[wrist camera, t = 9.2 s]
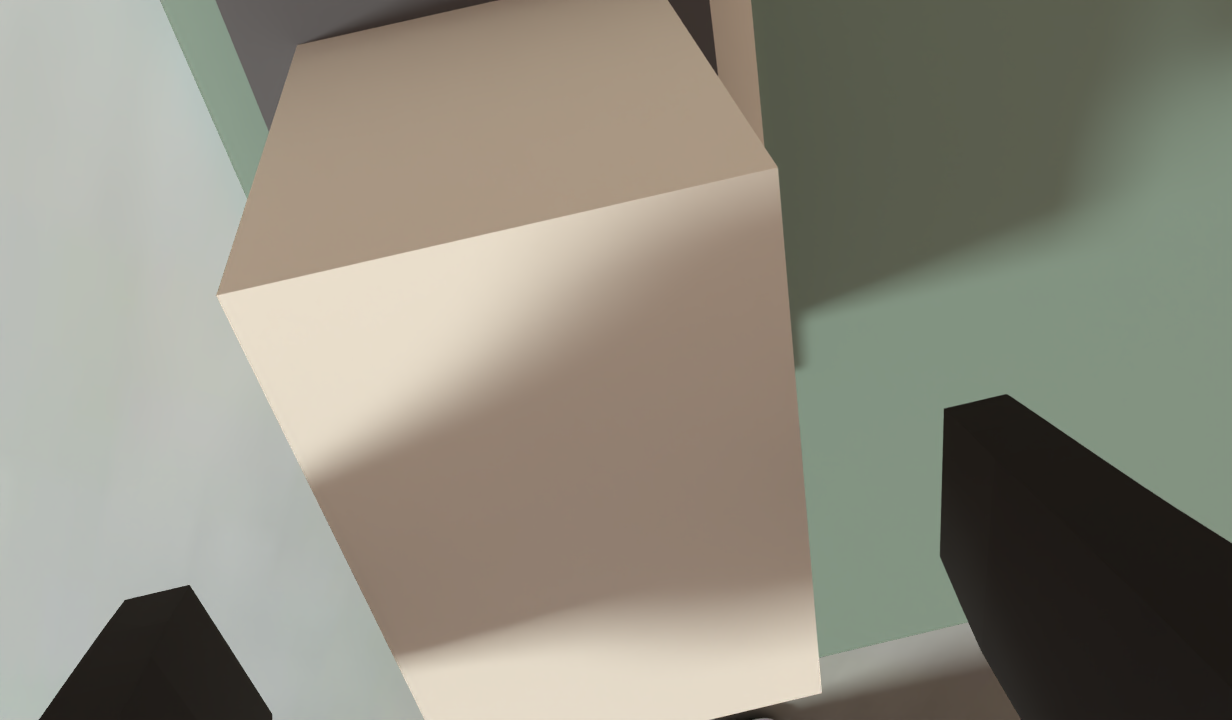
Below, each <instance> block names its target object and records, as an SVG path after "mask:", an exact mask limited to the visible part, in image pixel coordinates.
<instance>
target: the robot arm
mask: <svg viewBox="0 0 1232 720" xmlns="http://www.w3.org/2000/svg"><path fill="white" fill-rule="evenodd" d="M940 558H941V561H942V563H943V565H944V568H945V570H946V572H947V575H948V577H949V579H950V582H951V584H952V586H953V589H954V591H955V593H956V596H957V598H958V600H959V603H960V605H961V607H962V609H963V612H964V614H965V616H966V618H967V620H968V623H969V625H970V627H971V629H972V631H973V634H974V636H975V638H976V640H977V642H978V645H979V647H980V649H981V651H982V653H983V655H984V656H985V658H986V660H987V662H988V663H989V665H990V667H991V669H992V670H993V672H994V674H995V676H996V677H997V679H998V681H999V682H1000V684H1001V686H1002V687H1003V689H1004V691H1005V693H1006V694H1007V696H1008V698H1009V699H1010V701H1011V703H1012V705H1013V706H1014V708H1015V710H1016V711H1017V713H1018V715H1019V716H1020V718H1021V720H1232V543H1231V542H1229V541H1228V540H1226V539H1225V538H1223V537H1221V536H1220V535H1218V534H1217V533H1215V532H1214V531H1212V530H1210V529H1209V528H1207V527H1206V526H1204V525H1203V524H1201V523H1199V522H1198V521H1196V520H1195V519H1193V518H1191V517H1190V516H1188V515H1187V514H1185V513H1184V512H1182V511H1180V510H1179V509H1177V508H1176V507H1174V506H1173V505H1171V504H1169V503H1168V502H1166V501H1165V500H1163V499H1162V498H1160V497H1159V496H1157V495H1156V494H1154V493H1153V492H1151V491H1150V490H1148V489H1147V488H1145V487H1144V486H1142V485H1141V484H1139V483H1138V482H1136V481H1135V480H1133V479H1132V478H1130V477H1129V476H1127V475H1126V474H1124V473H1123V472H1121V471H1120V470H1118V469H1117V468H1115V467H1114V466H1112V465H1111V464H1109V463H1108V462H1106V461H1105V460H1103V459H1102V458H1101V457H1099V456H1098V455H1096V454H1095V453H1093V452H1092V451H1090V450H1089V449H1087V448H1086V447H1084V446H1083V445H1081V444H1080V443H1079V442H1077V441H1076V440H1074V439H1073V438H1071V437H1070V436H1068V435H1067V434H1065V433H1064V432H1062V431H1061V430H1060V429H1058V428H1057V427H1055V426H1054V425H1052V424H1051V423H1049V422H1048V421H1046V420H1045V419H1043V418H1042V417H1040V416H1039V415H1037V414H1036V413H1035V412H1033V411H1032V410H1030V409H1029V408H1027V407H1026V406H1024V405H1023V404H1021V403H1020V402H1018V401H1017V400H1015V399H1014V398H1012V397H1011V396H1009V395H1008V394H1004V395H1000V396H995V397H991V398H987V399H983V400H978V401H974V402H970V403H966V404H961V405H957V406H953V407H948V408H944V420H943V456H942V491H941V527H940ZM39 720H272V713H271V711H270V710H269V708H268V707H267V705H266V704H265V702H264V701H263V699H262V697H261V696H260V694H259V693H258V691H257V690H256V688H255V687H254V685H253V683H252V682H251V680H250V679H249V677H248V676H247V674H246V672H245V671H244V669H243V668H242V666H241V665H240V663H239V662H238V660H237V658H236V657H235V655H234V654H233V652H232V651H231V649H230V647H229V646H228V644H227V643H226V641H225V640H224V638H223V637H222V635H221V633H220V632H219V630H218V629H217V627H216V626H215V624H214V622H213V621H212V619H211V618H210V616H209V615H208V613H207V612H206V610H205V608H204V607H203V605H202V604H201V602H200V601H199V599H198V597H197V596H196V594H195V593H194V591H193V590H192V588H191V587H190V585H187V586H183V587H179V588H174V589H170V590H166V591H162V592H157V593H153V594H149V595H144V596H140V597H136V598H132V599H127V600H125V601H124V602H123V603H122V605H121V606H120V607H119V609H118V610H117V611H116V613H115V614H114V615H113V617H112V618H111V619H110V621H109V622H108V623H107V625H106V626H105V627H104V629H103V630H102V632H101V633H100V634H99V636H98V637H97V638H96V640H95V641H94V643H93V644H92V645H91V647H90V648H89V650H88V651H87V652H86V654H85V655H84V657H83V658H82V659H81V661H80V662H79V664H78V665H77V667H76V668H75V669H74V671H73V672H72V674H71V675H70V676H69V678H68V679H67V681H66V682H65V684H64V685H63V686H62V688H61V689H60V691H59V692H58V693H57V695H56V696H55V698H54V699H53V701H52V702H51V703H50V705H49V706H48V708H47V709H46V710H45V712H44V713H43V715H42V716H41V718H40V719H39ZM754 720H773V719H770V718H759V719H754Z"/></svg>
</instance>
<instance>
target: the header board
mask: <svg viewBox="0 0 1232 720" xmlns="http://www.w3.org/2000/svg"><path fill="white" fill-rule="evenodd" d="M160 1H161V4H162V6H163V8H164V10H165V13H166V15H167V17H168V19H169V22H170V24H171V26H172V29H173V31H174V33H175V35H176V38H177V40H178V42H179V45H180V47H181V49H182V51H183V54H184V56H185V58H186V60H187V63H188V65H189V67H190V70H191V72H192V74H193V76H194V79H195V81H196V83H197V86H198V88H199V90H200V92H201V95H202V97H203V99H204V101H205V104H206V106H207V108H208V111H209V113H210V115H211V117H212V120H213V122H214V124H215V127H216V129H217V131H218V133H219V136H220V138H221V140H222V142H223V145H224V147H225V149H226V152H227V154H228V156H229V158H230V161H231V163H232V165H233V168H234V170H235V172H236V174H237V177H238V179H239V181H240V184H241V186H242V188H243V190H244V193H245V195H246V197H247V199H248V196H249V193H250V190H251V187H252V184H253V180H254V177H255V174H256V171H257V168H258V165H259V162H260V159H261V156H262V153H263V149H264V146H265V143H266V140H267V137H268V134H269V131H270V128H271V125H272V121H273V118H274V115H275V112H276V109H277V106H278V103H279V100H280V97H281V94H282V90H283V87H284V84H285V81H286V78H287V75H288V72H289V69H290V66H291V63H292V59H293V56H294V53H295V50H296V47H297V45H300V44H305V43H309V42H314V41H318V40H323V39H327V38H332V37H336V36H341V35H345V34H349V33H354V32H358V31H363V30H367V29H372V28H376V27H381V26H385V25H390V24H394V23H399V22H403V21H408V20H412V19H416V18H421V17H425V16H430V15H434V14H439V13H443V12H448V11H452V10H457V9H461V8H466V7H470V6H474V5H479V4H483V3H488V2H492V1H497V0H160ZM668 1H669V3H670V4H671V6H672V7H673V9H674V10H675V12H676V13H677V15H678V16H679V18H680V19H681V21H682V23H683V24H684V26H685V27H686V29H687V30H688V32H689V33H690V35H691V36H692V38H693V39H694V41H695V42H696V44H697V45H698V47H699V48H700V50H701V51H702V53H703V54H704V56H705V57H706V59H707V61H708V62H709V64H710V65H711V67H712V68H713V70H714V71H715V73H716V74H717V76H718V77H719V79H720V80H721V82H722V83H723V85H724V86H725V88H726V89H727V91H728V92H729V94H730V95H731V97H732V99H733V100H734V102H735V103H736V105H737V106H738V108H739V109H740V111H741V112H742V114H743V115H744V117H745V118H746V120H747V121H748V123H749V124H750V126H751V127H752V129H753V130H754V132H755V133H756V135H757V136H758V138H759V140H760V141H761V143H762V144H763V146H764V147H765V149H766V150H767V152H768V153H769V155H770V156H771V158H772V159H773V161H774V162H775V164H776V165H777V167H778V175H779V187H780V199H781V211H782V223H783V235H784V247H785V259H786V271H787V283H788V295H789V307H790V319H791V331H792V343H793V355H794V367H795V379H796V390H797V402H798V414H799V426H800V438H801V450H802V462H803V474H804V486H805V498H806V510H807V522H808V534H809V546H810V558H811V570H812V582H813V594H814V606H815V618H816V629H817V641H818V653H819V658H820V657H824V656H829V655H833V654H837V653H841V652H845V651H850V650H854V649H858V648H862V647H866V646H871V645H875V644H879V643H883V642H887V641H892V640H896V639H900V638H904V637H908V636H913V635H917V634H921V633H925V632H929V631H934V630H938V629H942V628H946V627H950V626H955V625H959V624H963V623H967V622H968V620H967V618H966V616H965V614H964V612H963V609H962V607H961V605H960V603H959V600H958V598H957V596H956V593H955V591H954V589H953V586H952V584H951V582H950V579H949V577H948V575H947V572H946V570H945V568H944V565H943V563H942V561H941V558H940V527H941V491H942V456H943V420H944V408H948V407H953V406H957V405H961V404H966V403H970V402H974V401H978V400H983V399H987V398H991V397H995V396H1000V395H1004V394H1008V395H1009V396H1011V397H1012V398H1014V399H1015V400H1017V401H1018V402H1020V403H1021V404H1023V405H1024V406H1026V407H1027V408H1029V409H1030V410H1032V411H1033V412H1035V413H1036V414H1037V415H1039V416H1040V417H1042V418H1043V419H1045V420H1046V421H1048V422H1049V423H1051V424H1052V425H1054V426H1055V427H1057V428H1058V429H1060V430H1061V431H1062V432H1064V433H1065V434H1067V435H1068V436H1070V437H1071V438H1073V439H1074V440H1076V441H1077V442H1079V443H1080V444H1081V445H1083V446H1084V447H1086V448H1087V449H1089V450H1090V451H1092V452H1093V453H1095V454H1096V455H1098V456H1099V457H1101V458H1102V459H1103V460H1105V461H1106V462H1108V463H1109V464H1111V465H1112V466H1114V467H1115V468H1117V469H1118V470H1120V471H1121V472H1123V473H1124V474H1126V475H1127V476H1129V477H1130V478H1132V479H1133V480H1135V481H1136V482H1138V483H1139V484H1141V485H1142V486H1144V487H1145V488H1147V489H1148V490H1150V491H1151V492H1153V493H1154V494H1156V495H1157V496H1159V497H1160V498H1162V499H1163V500H1165V501H1166V502H1168V503H1169V504H1171V505H1173V506H1174V507H1176V508H1177V509H1179V510H1180V511H1182V512H1184V513H1185V514H1187V515H1188V516H1190V517H1191V518H1193V519H1195V520H1196V521H1198V522H1199V523H1201V524H1203V525H1204V526H1206V527H1207V528H1209V529H1210V530H1212V531H1214V532H1215V533H1217V534H1218V535H1220V536H1221V537H1223V538H1225V539H1226V540H1228V541H1229V542H1231V543H1232V0H668Z"/></svg>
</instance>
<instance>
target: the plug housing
mask: <svg viewBox="0 0 1232 720" xmlns="http://www.w3.org/2000/svg"><path fill="white" fill-rule="evenodd" d="M216 296H217V298H218V300H219V302H220V304H221V306H222V308H223V310H224V312H225V314H226V316H227V318H228V320H229V322H230V324H231V327H232V329H233V331H234V333H235V335H236V337H237V339H238V341H239V343H240V345H241V347H242V349H243V351H244V353H245V355H246V357H247V359H248V361H249V363H250V365H251V367H252V369H253V371H254V373H255V375H256V377H257V379H258V381H259V383H260V386H261V388H262V390H263V392H264V394H265V396H266V398H267V400H268V402H269V404H270V406H271V408H272V410H273V412H274V414H275V416H276V418H277V420H278V422H279V424H280V426H281V428H282V430H283V432H284V434H285V436H286V438H287V440H288V442H289V444H290V447H291V449H292V451H293V453H294V455H295V457H296V459H297V461H298V463H299V465H300V467H301V469H302V471H303V473H304V475H305V477H306V479H307V481H308V483H309V485H310V487H311V489H312V491H313V493H314V495H315V497H316V499H317V501H318V503H319V506H320V508H321V510H322V512H323V514H324V516H325V518H326V520H327V522H328V524H329V526H330V528H331V530H332V532H333V534H334V536H335V538H336V540H337V542H338V544H339V546H340V548H341V550H342V552H343V554H344V556H345V558H346V560H347V562H348V565H349V567H350V569H351V571H352V573H353V575H354V577H355V579H356V581H357V583H358V585H359V587H360V589H361V591H362V593H363V595H364V597H365V599H366V601H367V603H368V605H369V607H370V609H371V611H372V613H373V615H374V617H375V619H376V621H377V623H378V626H379V628H380V630H381V632H382V634H383V636H384V638H385V640H386V642H387V644H388V646H389V648H390V650H391V652H392V654H393V656H394V658H395V660H396V662H397V664H398V666H399V668H400V670H401V672H402V674H403V676H404V678H405V680H406V682H407V685H408V687H409V689H410V691H411V693H412V695H413V697H414V699H415V701H416V703H417V705H418V707H419V709H420V711H421V713H422V715H423V717H424V719H425V720H711V719H715V718H719V717H723V716H728V715H732V714H736V713H740V712H744V711H748V710H753V709H757V708H761V707H765V706H769V705H774V704H778V703H782V702H786V701H790V700H794V699H799V698H803V697H807V696H811V695H815V694H820V693H822V689H821V677H820V665H819V653H818V641H817V629H816V618H815V606H814V594H813V582H812V570H811V558H810V546H809V534H808V522H807V510H806V498H805V486H804V474H803V462H802V450H801V438H800V426H799V414H798V402H797V390H796V379H795V367H794V355H793V343H792V331H791V319H790V307H789V295H788V283H787V271H786V259H785V247H784V235H783V223H782V211H781V199H780V187H779V175H778V167H777V165H776V164H775V162H774V161H773V159H772V158H771V156H770V155H769V153H768V152H767V150H766V149H765V147H764V146H763V144H762V143H761V141H760V140H759V138H758V136H757V135H756V133H755V132H754V130H753V129H752V127H751V126H750V124H749V123H748V121H747V120H746V118H745V117H744V115H743V114H742V112H741V111H740V109H739V108H738V106H737V105H736V103H735V102H734V100H733V99H732V97H731V95H730V94H729V92H728V91H727V89H726V88H725V86H724V85H723V83H722V82H721V80H720V79H719V77H718V76H717V74H716V73H715V71H714V70H713V68H712V67H711V65H710V64H709V62H708V61H707V59H706V57H705V56H704V54H703V53H702V51H701V50H700V48H699V47H698V45H697V44H696V42H695V41H694V39H693V38H692V36H691V35H690V33H689V32H688V30H687V29H686V27H685V26H684V24H683V23H682V21H681V19H680V18H679V16H678V15H677V13H676V12H675V10H674V9H673V7H672V6H671V4H670V3H669V1H668V0H497V1H492V2H488V3H483V4H479V5H474V6H470V7H466V8H461V9H457V10H452V11H448V12H443V13H439V14H434V15H430V16H425V17H421V18H416V19H412V20H408V21H403V22H399V23H394V24H390V25H385V26H381V27H376V28H372V29H367V30H363V31H358V32H354V33H349V34H345V35H341V36H336V37H332V38H327V39H323V40H318V41H314V42H309V43H305V44H300V45H297V47H296V50H295V53H294V56H293V59H292V63H291V66H290V69H289V72H288V75H287V78H286V81H285V84H284V87H283V90H282V94H281V97H280V100H279V103H278V106H277V109H276V112H275V115H274V118H273V121H272V125H271V128H270V131H269V134H268V137H267V140H266V143H265V146H264V149H263V153H262V156H261V159H260V162H259V165H258V168H257V171H256V174H255V177H254V180H253V184H252V187H251V190H250V193H249V196H248V199H247V202H246V205H245V208H244V211H243V215H242V218H241V221H240V224H239V227H238V230H237V233H236V236H235V239H234V242H233V246H232V249H231V252H230V255H229V258H228V261H227V264H226V267H225V270H224V273H223V277H222V280H221V283H220V286H219V289H218V292H217V295H216Z"/></svg>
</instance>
